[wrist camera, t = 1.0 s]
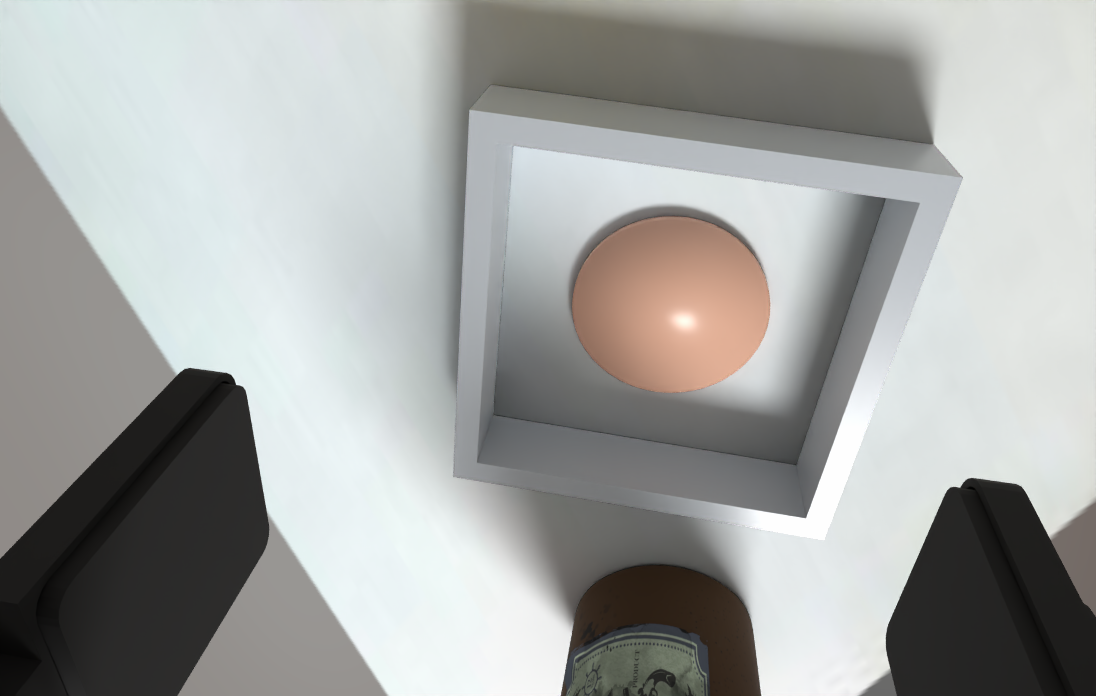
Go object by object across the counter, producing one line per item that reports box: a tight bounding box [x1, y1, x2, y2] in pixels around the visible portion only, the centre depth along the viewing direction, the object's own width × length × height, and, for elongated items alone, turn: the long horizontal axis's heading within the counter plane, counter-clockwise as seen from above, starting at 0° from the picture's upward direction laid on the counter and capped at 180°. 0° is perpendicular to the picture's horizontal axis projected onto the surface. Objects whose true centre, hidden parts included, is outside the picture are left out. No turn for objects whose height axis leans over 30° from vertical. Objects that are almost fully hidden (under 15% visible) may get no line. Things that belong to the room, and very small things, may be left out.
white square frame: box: [453, 85, 963, 540], centre depth 32 cm, size 16×16×4 cm
